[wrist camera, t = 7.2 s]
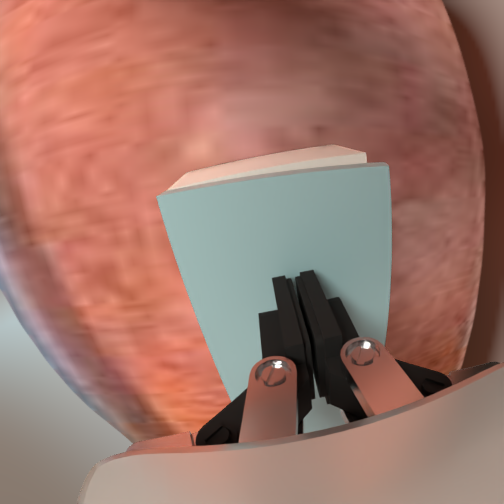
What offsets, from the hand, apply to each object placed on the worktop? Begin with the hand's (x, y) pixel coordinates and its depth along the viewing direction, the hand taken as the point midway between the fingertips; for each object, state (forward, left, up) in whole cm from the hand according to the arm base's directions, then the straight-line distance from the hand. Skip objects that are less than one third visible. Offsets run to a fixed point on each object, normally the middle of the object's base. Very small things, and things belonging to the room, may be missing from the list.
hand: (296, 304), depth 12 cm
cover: (+7, 0, -1) cm, 7 cm away
